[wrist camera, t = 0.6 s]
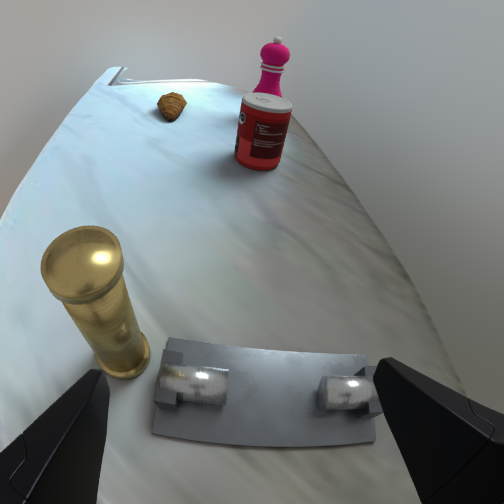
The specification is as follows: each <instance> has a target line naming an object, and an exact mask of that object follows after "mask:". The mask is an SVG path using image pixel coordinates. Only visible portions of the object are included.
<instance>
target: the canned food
mask: <svg viewBox="0 0 504 504" xmlns="http://www.w3.org/2000/svg"><path fill="white" fill-rule="evenodd" d="M291 112H292V104H291V103H290V102H289V101H288V100H286V99H284V98H282V97H279V96H276V95H272V94H267V93H248V94H245V95H244V96H243V98H242V103H241V109H240V116H239V123H238V130H237V138H236V145H235V157H236V160H237V161H238V162H239V163H240V164H242V165H243V166H245V167H247V168H250V169H254V170H261V171H265V170H271V169H274V168H275V167H276V166H277V165H278V163H279V162H280V158H281V154H282V150H283V146H284V142H285V138H286V133H287V129H288V125H289V121H290V117H291Z"/></svg>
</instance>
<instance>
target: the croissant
mask: <svg viewBox="0 0 504 504" xmlns="http://www.w3.org/2000/svg"><path fill="white" fill-rule="evenodd" d="M186 104H187V102H186V101H185V99H184V98H183V96H182V95H180V94H177V93H174V92H171V93H169V94H166V95H162V96H161V98H160V99H159V101H158V103H157V105H158V108H159V109H160V111H161V113H162V114H163V116H164V117H165V118H166V119H167V120H168V121H173V120H175V119H177V118H178V117H179V116H180V114H181V112H182V111H183V109H184V107H185V106H186Z"/></svg>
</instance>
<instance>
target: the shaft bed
mask: <svg viewBox="0 0 504 504" xmlns="http://www.w3.org/2000/svg"><path fill="white" fill-rule="evenodd" d="M376 368H377V366H368V362H367V355H360V354H325V353H305V352H289V351H276V350H264V349H254V348H244V347H235V346H226V345H218V344H210V343H203V342H196V341H189V340H182V339H176V338H170V337H169V339H168V344H167V349H166V350H163V355H162V360H161V365H160V370H159V375H158V381H157V386H156V392H155V398H154V402H155V403H156V410H155V416H154V422H153V429H152V434H157V435H163V436H168V437H174V438H180V439H186V440H193V441H201V442H209V443H218V444H229V445H241V446H260V447H315V446H334V445H346V444H357V443H366V442H374V441H376V434H375V422H374V417H376V416H378V415H380V414H381V413H383V410H382V407H381V404H380V401H379V398H378V395H377V392H376V389H375V386H374V383H373V375H374V372H375V370H376Z"/></svg>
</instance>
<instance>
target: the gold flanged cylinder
mask: <svg viewBox="0 0 504 504" xmlns="http://www.w3.org/2000/svg"><path fill="white" fill-rule="evenodd" d="M123 269H124V259H123V255H122V251H121V246H120V243H119V240H118V239H117V237H116V236H115V235H114V234H113V233H112V232H111V231H109V230H107V229H105V228H102V227H99V226H81V227H77V228H74V229H71V230H69V231H66V232H65V233H63V234H61V235H60V236H58V237H57V238H56V239H55V240H54V241H53V242H52V243H51V244H50V245H49V246H48V248H47V249H46V251H45V252H44V255H43V257H42V261H41V274H42V277H43V279H44V281H45V283H46V285H47V287H48V288H49V290H50V292H51V293H52V295H53V296H54V297H55V298H57V299H58V300H60V301H62V303H63V305H64V307H65V308H66V310H67V312H68V313H69V315H70V316H71V318H72V320H73V321H74V323H75V324H76V326H77V328H78V329H79V331H80V332H81V334H82V335H83V337H84V338H85V340H86V341H87V343H88V344H89V346H90V347H91V348H92V350H93V351H94V353H95V356H96V359H97V362H98V364H99V365H100V366H101V368H102V369H103V370H104V371H105V372H106V373H107V374H108V375H109V376H111V377H113V378H116V379H120V380H128V379H132V378H135V377H137V376H138V375H140V374H141V373H142V372H143V371H144V370H145V369H146V368H147V366H148V364H149V361H150V348H149V345H148V342H147V339H146V337H145V336H144V334H143V333H142V332H141V331H140V329H139V326H138V323H137V320H136V317H135V314H134V311H133V308H132V304H131V301H130V298H129V295H128V291H127V288H126V285H125V281H124V278H123V274H122V273H123Z"/></svg>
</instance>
